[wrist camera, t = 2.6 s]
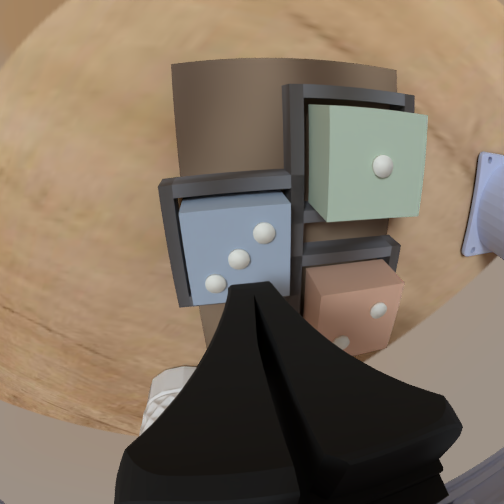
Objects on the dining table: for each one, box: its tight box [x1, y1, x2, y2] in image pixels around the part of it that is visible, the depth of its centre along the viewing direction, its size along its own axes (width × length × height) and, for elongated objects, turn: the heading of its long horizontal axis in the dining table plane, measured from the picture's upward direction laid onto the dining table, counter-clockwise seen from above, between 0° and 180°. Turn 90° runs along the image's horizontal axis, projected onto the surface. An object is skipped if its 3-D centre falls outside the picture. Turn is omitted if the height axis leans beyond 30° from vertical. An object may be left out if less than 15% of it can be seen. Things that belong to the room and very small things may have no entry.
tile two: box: [303, 259, 405, 356], centre depth 16 cm, size 4×4×3 cm
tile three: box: [179, 189, 291, 305], centre depth 14 cm, size 4×4×3 cm
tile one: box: [308, 104, 428, 222], centre depth 12 cm, size 4×4×3 cm
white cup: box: [139, 366, 197, 436], centre depth 18 cm, size 8×8×10 cm
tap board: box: [158, 58, 414, 348], centre depth 16 cm, size 12×17×2 cm
